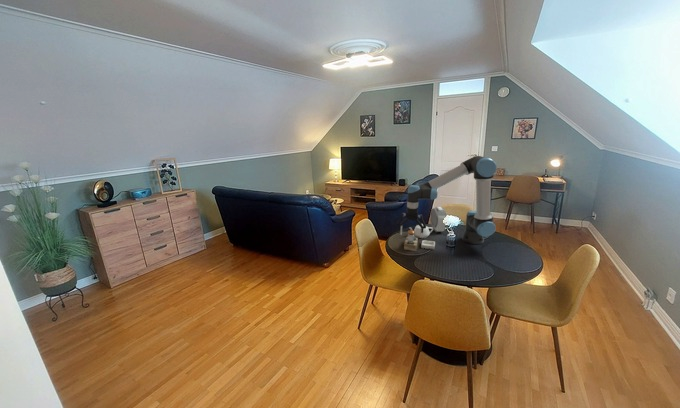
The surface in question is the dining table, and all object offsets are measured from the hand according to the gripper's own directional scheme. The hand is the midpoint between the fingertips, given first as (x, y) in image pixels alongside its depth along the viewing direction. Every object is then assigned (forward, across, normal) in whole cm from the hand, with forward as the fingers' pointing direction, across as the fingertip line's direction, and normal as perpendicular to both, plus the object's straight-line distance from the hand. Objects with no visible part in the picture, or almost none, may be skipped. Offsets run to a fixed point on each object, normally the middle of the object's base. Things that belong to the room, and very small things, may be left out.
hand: (410, 235), depth 197 cm
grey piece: (+9, +17, +42) cm, 46 cm away
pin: (+10, 0, 0) cm, 10 cm away
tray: (+9, +12, +7) cm, 17 cm away
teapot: (+10, +5, +25) cm, 27 cm away
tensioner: (+9, 0, +3) cm, 10 cm away
